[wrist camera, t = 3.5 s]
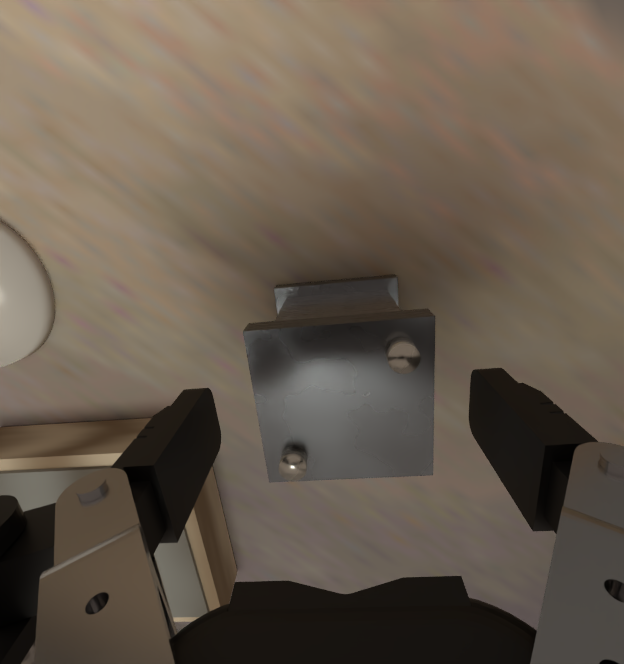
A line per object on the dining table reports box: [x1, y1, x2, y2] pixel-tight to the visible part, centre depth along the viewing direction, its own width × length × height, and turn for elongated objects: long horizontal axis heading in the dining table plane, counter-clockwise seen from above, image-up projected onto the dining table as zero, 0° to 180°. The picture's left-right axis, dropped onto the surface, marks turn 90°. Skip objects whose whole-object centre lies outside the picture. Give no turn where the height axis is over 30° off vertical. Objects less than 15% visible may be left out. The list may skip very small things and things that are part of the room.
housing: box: [243, 275, 435, 482], centre depth 14 cm, size 6×6×7 cm
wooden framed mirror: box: [0, 418, 237, 622], centre depth 20 cm, size 12×12×3 cm
